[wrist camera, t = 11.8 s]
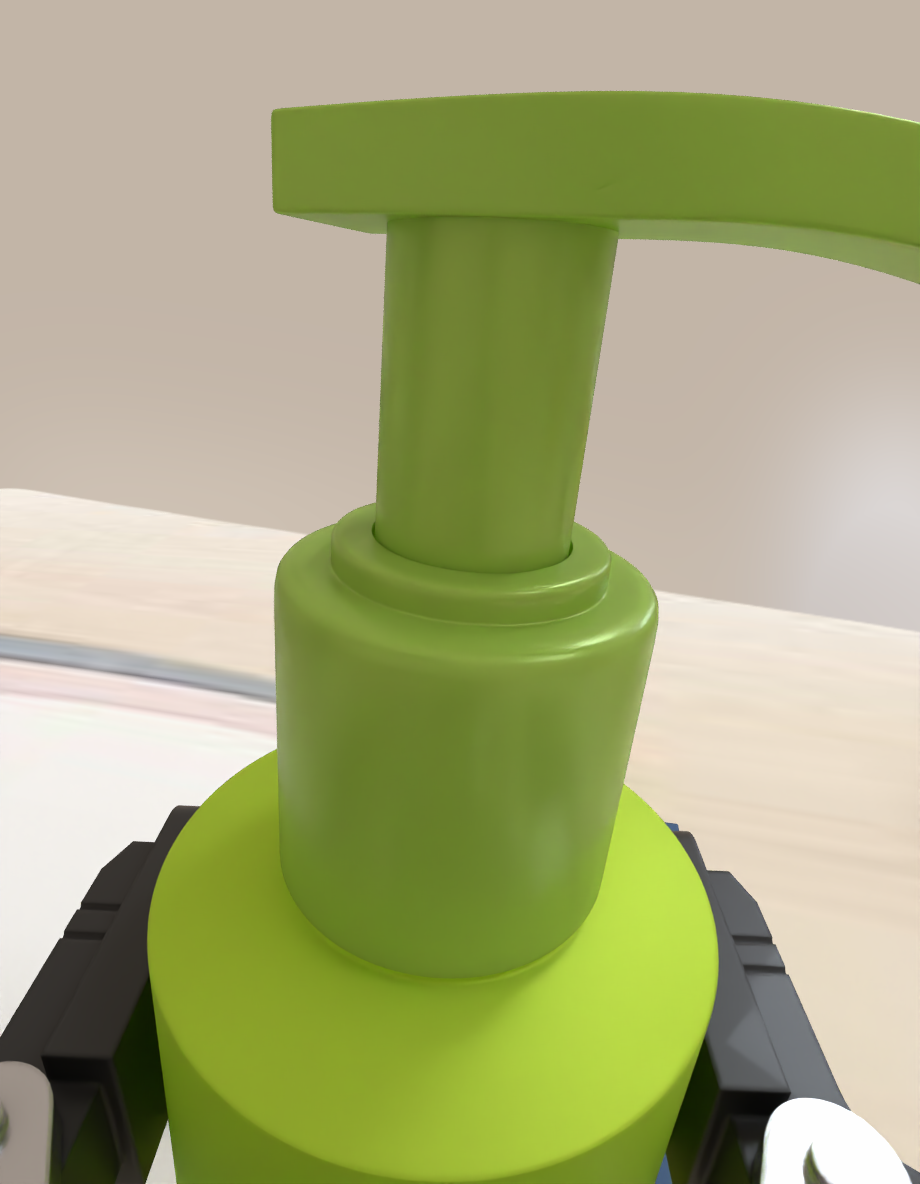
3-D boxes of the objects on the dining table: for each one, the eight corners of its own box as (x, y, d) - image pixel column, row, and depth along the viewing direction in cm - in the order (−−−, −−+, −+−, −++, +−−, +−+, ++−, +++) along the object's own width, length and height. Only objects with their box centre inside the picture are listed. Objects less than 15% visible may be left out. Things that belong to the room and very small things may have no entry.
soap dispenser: (597, 1815, 10) (2002, -68, 2) (143, 1608, 11) (-328, -83, 3) (611, 1279, 15) (963, 205, 7) (304, 1179, 16) (299, 159, 8)
